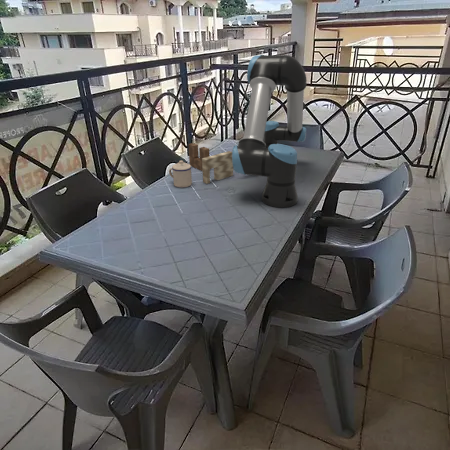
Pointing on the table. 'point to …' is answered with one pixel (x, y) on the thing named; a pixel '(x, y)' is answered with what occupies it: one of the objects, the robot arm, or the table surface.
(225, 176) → the birch board
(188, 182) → the teacup with lid
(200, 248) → the table surface
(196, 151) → the brown wooden u block
